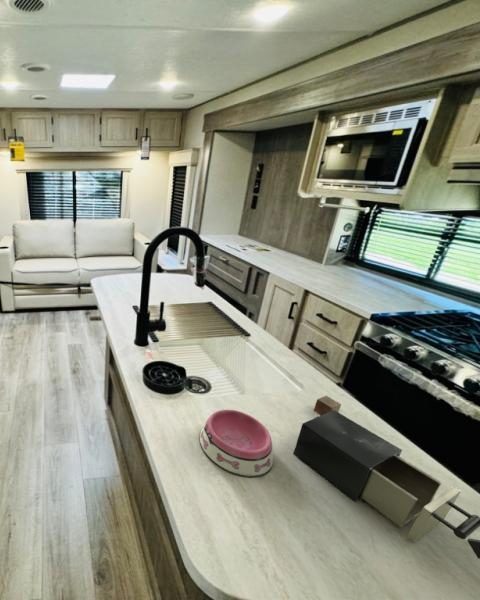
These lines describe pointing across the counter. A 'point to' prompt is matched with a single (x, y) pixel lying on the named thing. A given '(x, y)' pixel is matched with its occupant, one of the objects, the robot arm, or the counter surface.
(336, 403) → the block
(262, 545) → the counter surface
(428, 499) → the drawer
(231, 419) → the dog bowl
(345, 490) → the cabinet
